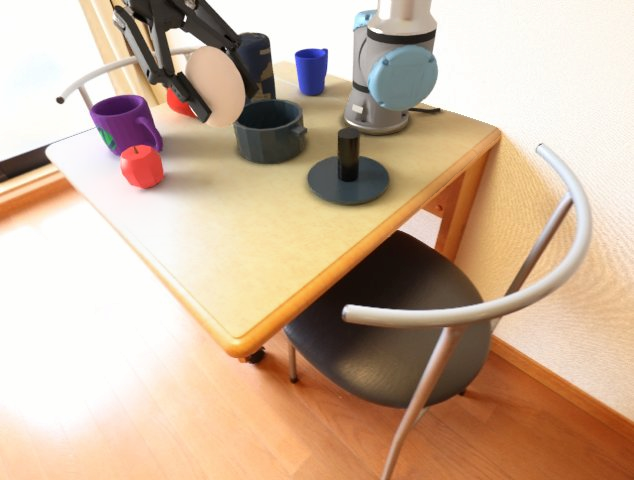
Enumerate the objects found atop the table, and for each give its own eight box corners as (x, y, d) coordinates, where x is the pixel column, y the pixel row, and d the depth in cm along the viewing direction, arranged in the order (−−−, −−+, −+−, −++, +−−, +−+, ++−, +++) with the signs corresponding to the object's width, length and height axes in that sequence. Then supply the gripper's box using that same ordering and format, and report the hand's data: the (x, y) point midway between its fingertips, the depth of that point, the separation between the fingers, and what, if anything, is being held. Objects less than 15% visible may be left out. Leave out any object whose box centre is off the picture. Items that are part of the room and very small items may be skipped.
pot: (264, 121, 90) (260, 90, 85) (327, 146, 81) (326, 113, 76) (217, 145, 83) (209, 113, 78) (281, 176, 73) (276, 142, 68)
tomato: (186, 131, 88) (175, 95, 82) (165, 114, 95) (154, 79, 89) (236, 113, 94) (229, 78, 88) (213, 98, 101) (205, 65, 95)
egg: (233, 107, 63) (217, 33, 55) (260, 124, 58) (248, 46, 50) (186, 124, 59) (162, 47, 51) (211, 144, 54) (189, 62, 46)
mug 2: (339, 84, 105) (339, 46, 98) (316, 100, 98) (315, 60, 91) (314, 79, 108) (313, 42, 102) (291, 94, 101) (288, 55, 94)
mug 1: (99, 151, 83) (77, 109, 76) (141, 130, 89) (125, 89, 82) (146, 174, 75) (127, 129, 68) (189, 150, 82) (175, 106, 75)
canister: (256, 98, 100) (244, 24, 88) (284, 104, 97) (277, 28, 84) (233, 112, 95) (217, 35, 82) (263, 119, 91) (251, 40, 78)
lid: (340, 151, 79) (341, 105, 72) (404, 176, 71) (411, 128, 64) (291, 185, 71) (285, 137, 63) (356, 218, 63) (359, 167, 56)
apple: (121, 182, 74) (104, 146, 68) (158, 166, 78) (144, 131, 72) (139, 198, 70) (121, 162, 64) (176, 180, 73) (163, 144, 68)
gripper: (185, -26, 59) (270, 93, 63) (52, 2, 48) (166, 147, 51) (197, -69, 53) (291, 67, 57) (47, -48, 41) (178, 121, 45)
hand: (232, 105), depth 54 cm, fingers closed on egg, 9 cm apart
